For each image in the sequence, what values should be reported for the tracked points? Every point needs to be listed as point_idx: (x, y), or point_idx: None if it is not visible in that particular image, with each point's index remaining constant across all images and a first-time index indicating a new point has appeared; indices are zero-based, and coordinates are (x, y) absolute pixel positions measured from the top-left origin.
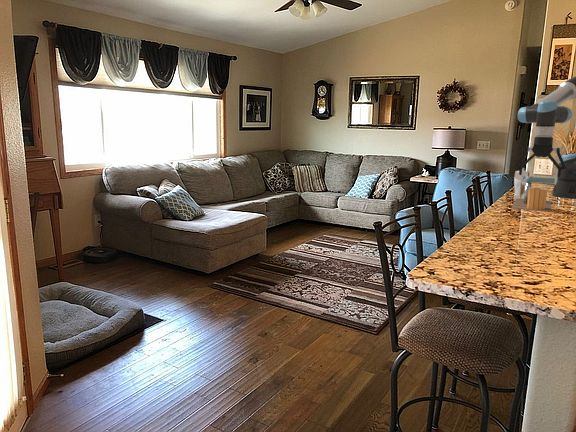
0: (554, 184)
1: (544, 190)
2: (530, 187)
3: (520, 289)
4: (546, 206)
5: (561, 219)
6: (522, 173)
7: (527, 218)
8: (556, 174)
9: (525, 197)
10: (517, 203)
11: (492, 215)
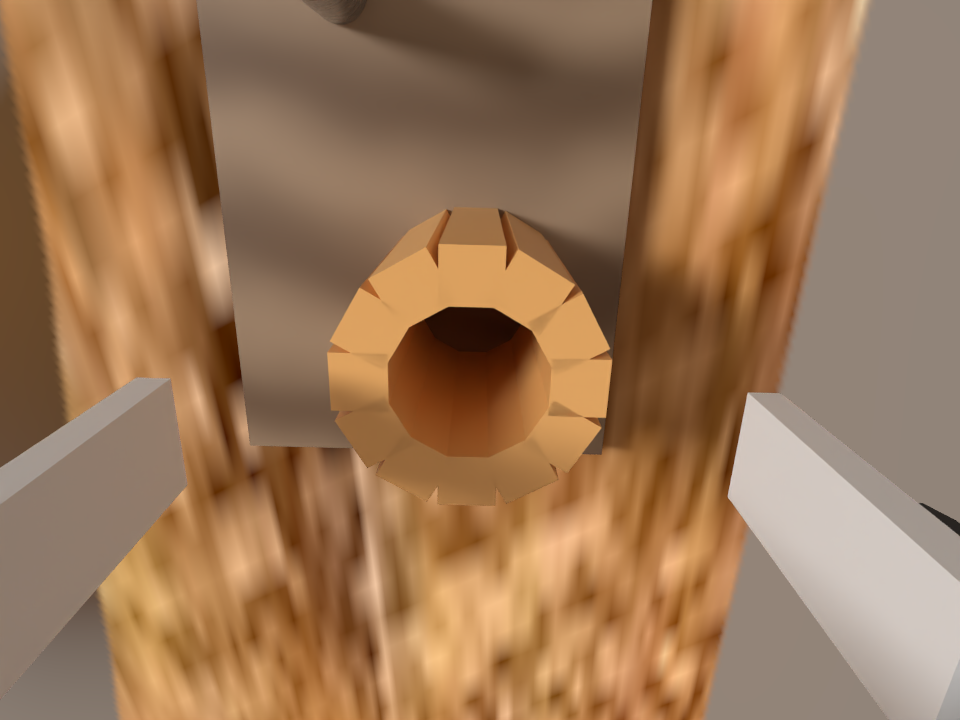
0: (731, 497)
1: (561, 468)
2: None
3: None
4: (586, 147)
5: (669, 565)
6: (50, 617)
7: (427, 631)
8: (858, 650)
9: (308, 3)
10: (251, 88)
11: (175, 635)
